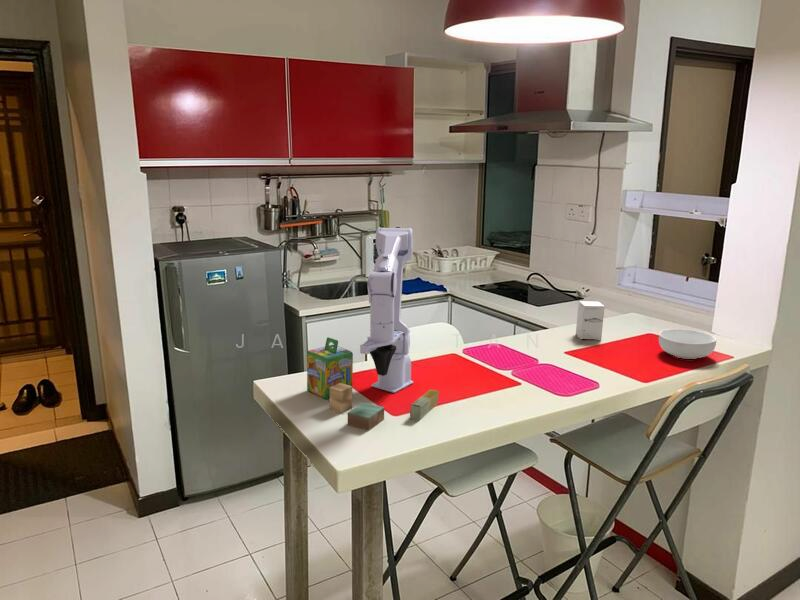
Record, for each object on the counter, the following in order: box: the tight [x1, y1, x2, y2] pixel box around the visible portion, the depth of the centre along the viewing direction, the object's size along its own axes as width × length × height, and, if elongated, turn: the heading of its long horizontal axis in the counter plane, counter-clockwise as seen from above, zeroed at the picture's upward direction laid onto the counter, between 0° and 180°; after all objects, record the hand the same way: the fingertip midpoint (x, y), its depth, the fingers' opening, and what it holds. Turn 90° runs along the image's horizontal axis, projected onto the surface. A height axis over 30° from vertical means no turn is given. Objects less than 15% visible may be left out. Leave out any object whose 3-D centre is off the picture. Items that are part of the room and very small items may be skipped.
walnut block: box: [347, 402, 385, 432], centre depth 145 cm, size 4×6×7 cm
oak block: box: [329, 383, 353, 414], centre depth 152 cm, size 4×4×6 cm
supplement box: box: [575, 300, 606, 341], centre depth 213 cm, size 7×7×13 cm
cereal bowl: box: [658, 328, 717, 359], centre depth 194 cm, size 17×17×7 cm
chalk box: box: [306, 336, 354, 401], centre depth 162 cm, size 9×9×15 cm
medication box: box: [409, 388, 440, 422], centre depth 151 cm, size 12×3×4 cm, turn 154°
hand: (382, 374), depth 148 cm, fingers closed
